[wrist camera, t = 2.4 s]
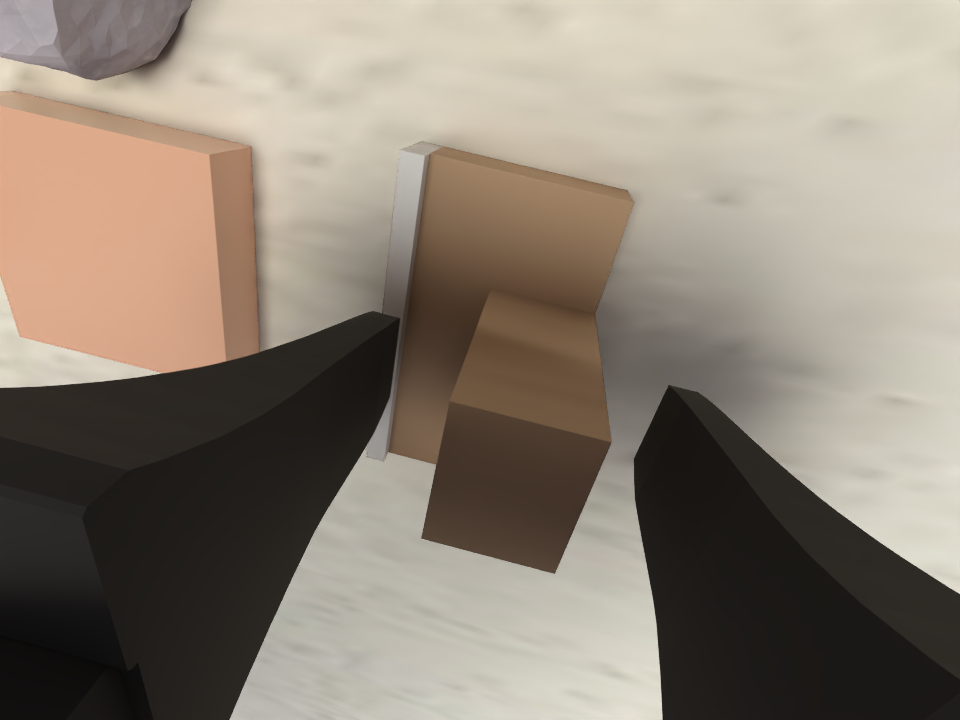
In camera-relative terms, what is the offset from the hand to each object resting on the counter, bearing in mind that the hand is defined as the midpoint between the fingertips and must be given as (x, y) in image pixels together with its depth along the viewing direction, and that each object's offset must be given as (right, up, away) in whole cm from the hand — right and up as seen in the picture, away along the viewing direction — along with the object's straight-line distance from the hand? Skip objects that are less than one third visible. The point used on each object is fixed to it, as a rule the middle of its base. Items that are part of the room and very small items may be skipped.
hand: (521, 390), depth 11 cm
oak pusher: (-1, +2, +3) cm, 3 cm away
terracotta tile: (-10, +4, +3) cm, 11 cm away
